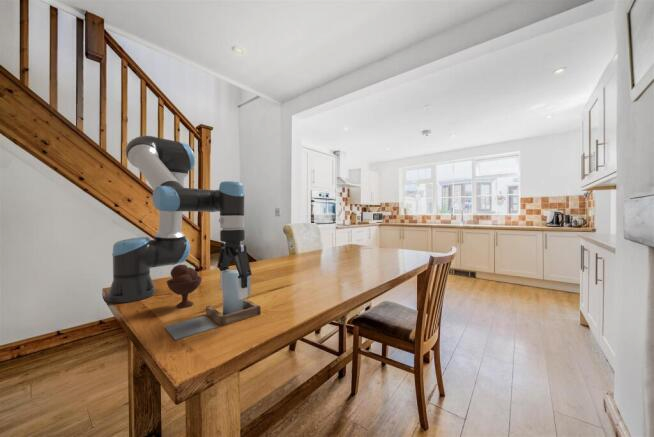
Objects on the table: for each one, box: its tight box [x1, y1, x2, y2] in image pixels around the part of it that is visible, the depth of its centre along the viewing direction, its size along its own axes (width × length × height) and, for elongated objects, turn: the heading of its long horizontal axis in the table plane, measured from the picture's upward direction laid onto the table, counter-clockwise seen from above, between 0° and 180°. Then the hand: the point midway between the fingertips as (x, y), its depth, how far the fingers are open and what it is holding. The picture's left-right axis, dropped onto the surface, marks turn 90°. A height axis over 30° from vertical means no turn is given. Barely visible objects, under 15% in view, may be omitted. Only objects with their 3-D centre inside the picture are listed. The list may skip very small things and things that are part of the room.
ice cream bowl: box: [166, 264, 203, 309], centre depth 92 cm, size 11×11×15 cm
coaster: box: [164, 315, 219, 341], centre depth 74 cm, size 11×11×1 cm
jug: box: [222, 269, 251, 315], centre depth 85 cm, size 6×9×14 cm
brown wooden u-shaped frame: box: [205, 298, 262, 327], centre depth 84 cm, size 13×13×2 cm
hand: (233, 293), depth 84 cm, fingers open, 13 cm apart
